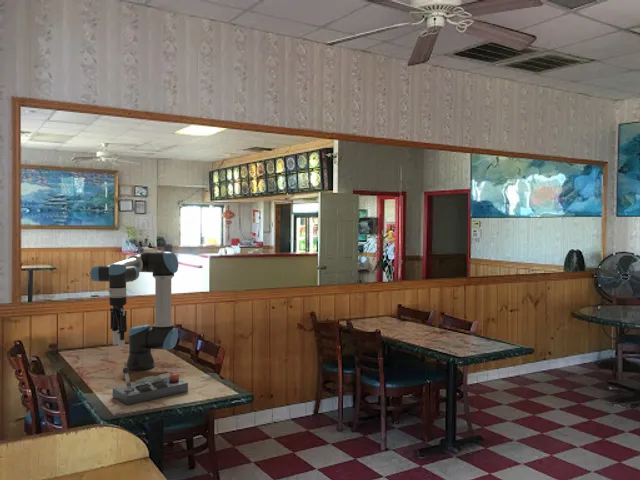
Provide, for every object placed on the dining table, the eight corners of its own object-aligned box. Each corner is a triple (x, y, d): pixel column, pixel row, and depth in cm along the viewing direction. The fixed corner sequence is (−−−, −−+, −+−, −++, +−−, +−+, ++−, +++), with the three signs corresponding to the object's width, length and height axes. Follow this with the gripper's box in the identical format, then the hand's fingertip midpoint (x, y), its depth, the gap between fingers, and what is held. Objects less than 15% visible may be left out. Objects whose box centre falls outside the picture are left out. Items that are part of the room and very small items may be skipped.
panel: (112, 396, 259) (112, 386, 259) (172, 383, 279) (171, 374, 279) (127, 405, 247) (126, 394, 247) (188, 391, 267) (187, 381, 267)
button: (167, 380, 271) (167, 374, 271) (176, 378, 274) (176, 372, 274) (172, 382, 268) (172, 376, 268) (180, 380, 271) (180, 374, 271)
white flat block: (135, 384, 263) (134, 380, 263) (145, 382, 266) (145, 378, 266) (144, 381, 256) (143, 377, 256) (154, 379, 259) (153, 375, 259)
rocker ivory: (151, 381, 268) (150, 377, 268) (161, 379, 271) (160, 375, 272) (160, 378, 261) (159, 374, 261) (170, 376, 264) (169, 372, 265)
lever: (125, 389, 256) (121, 368, 259) (131, 388, 258) (127, 367, 261) (127, 388, 254) (123, 367, 257) (133, 387, 256) (129, 366, 259)
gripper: (102, 295, 267) (103, 343, 268) (118, 299, 253) (119, 350, 254) (117, 294, 272) (118, 341, 273) (134, 297, 258) (134, 347, 259)
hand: (118, 345), depth 264 cm, fingers open, 6 cm apart
